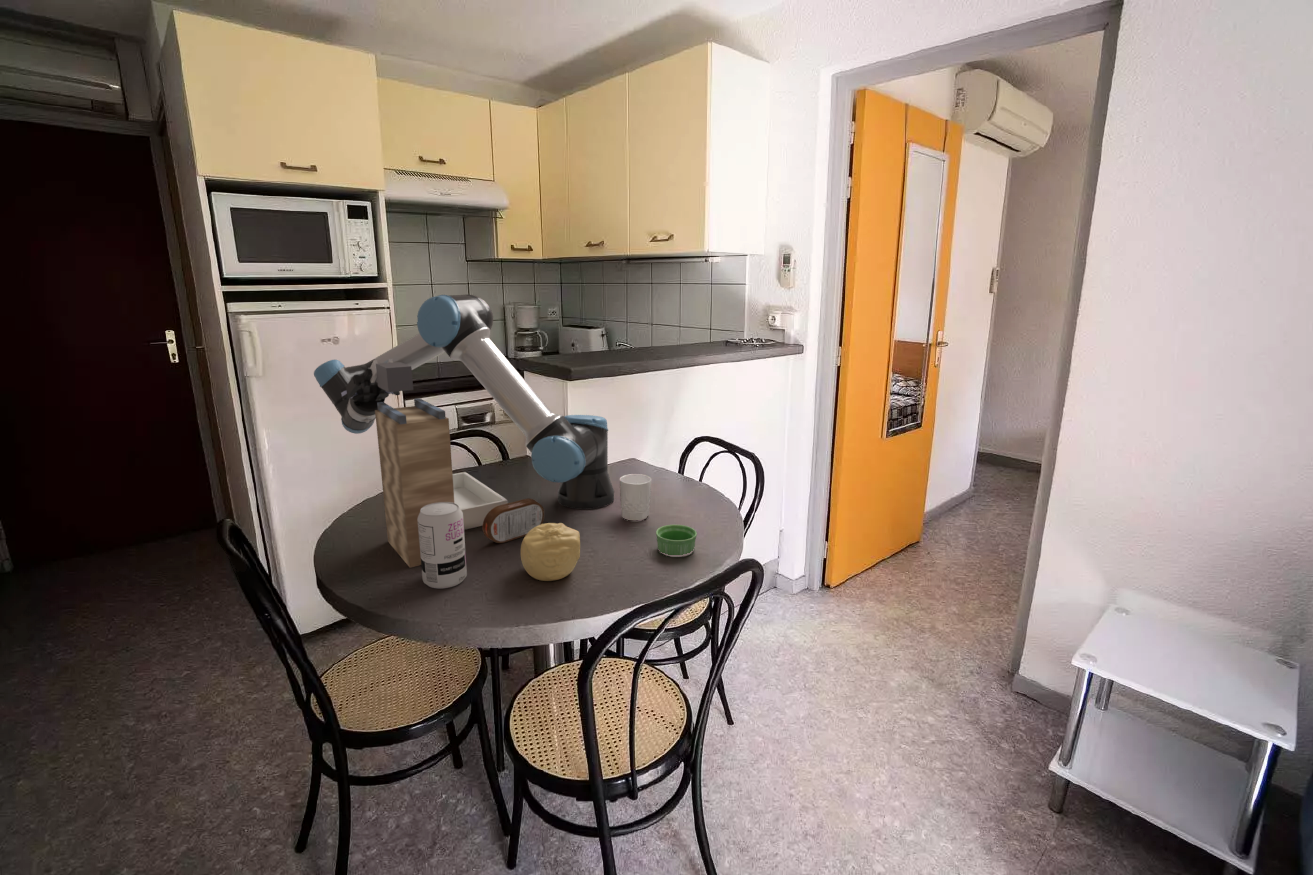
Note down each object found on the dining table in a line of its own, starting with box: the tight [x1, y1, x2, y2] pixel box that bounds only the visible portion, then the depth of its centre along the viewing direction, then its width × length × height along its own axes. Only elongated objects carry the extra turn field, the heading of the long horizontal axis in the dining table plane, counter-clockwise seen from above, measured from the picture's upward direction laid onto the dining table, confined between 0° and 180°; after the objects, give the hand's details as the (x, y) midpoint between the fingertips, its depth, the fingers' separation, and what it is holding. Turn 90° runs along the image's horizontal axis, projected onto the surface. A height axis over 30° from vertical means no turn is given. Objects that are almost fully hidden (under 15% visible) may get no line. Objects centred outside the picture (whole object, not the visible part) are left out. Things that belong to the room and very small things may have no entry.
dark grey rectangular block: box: [368, 362, 414, 392], centre depth 136 cm, size 20×5×5 cm, turn 38°
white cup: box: [619, 473, 652, 521], centre depth 153 cm, size 8×8×10 cm
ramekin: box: [655, 524, 698, 555], centre depth 135 cm, size 9×9×4 cm
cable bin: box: [452, 471, 509, 531], centre depth 157 cm, size 28×14×5 cm, turn 38°
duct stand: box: [375, 398, 454, 569], centre depth 131 cm, size 16×10×32 cm, turn 38°
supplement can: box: [417, 502, 468, 589], centre depth 119 cm, size 8×8×15 cm
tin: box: [482, 498, 545, 544], centre depth 140 cm, size 15×3×8 cm, turn 135°
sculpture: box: [520, 522, 581, 582], centre depth 123 cm, size 11×12×11 cm
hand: (384, 365), depth 136 cm, fingers closed on dark grey rectangular block, 2 cm apart
